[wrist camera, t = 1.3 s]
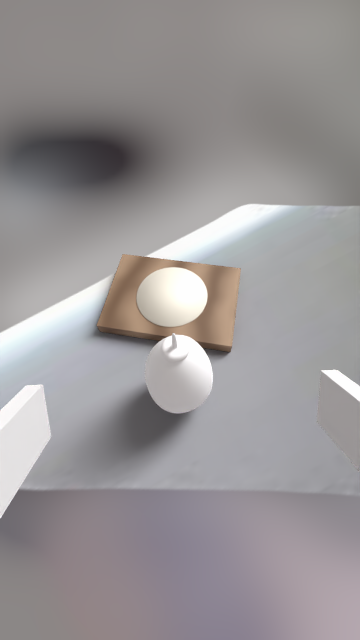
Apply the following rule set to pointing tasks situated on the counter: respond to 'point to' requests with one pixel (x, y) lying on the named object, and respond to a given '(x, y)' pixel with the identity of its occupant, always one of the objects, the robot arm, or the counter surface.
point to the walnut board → (172, 301)
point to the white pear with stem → (178, 374)
